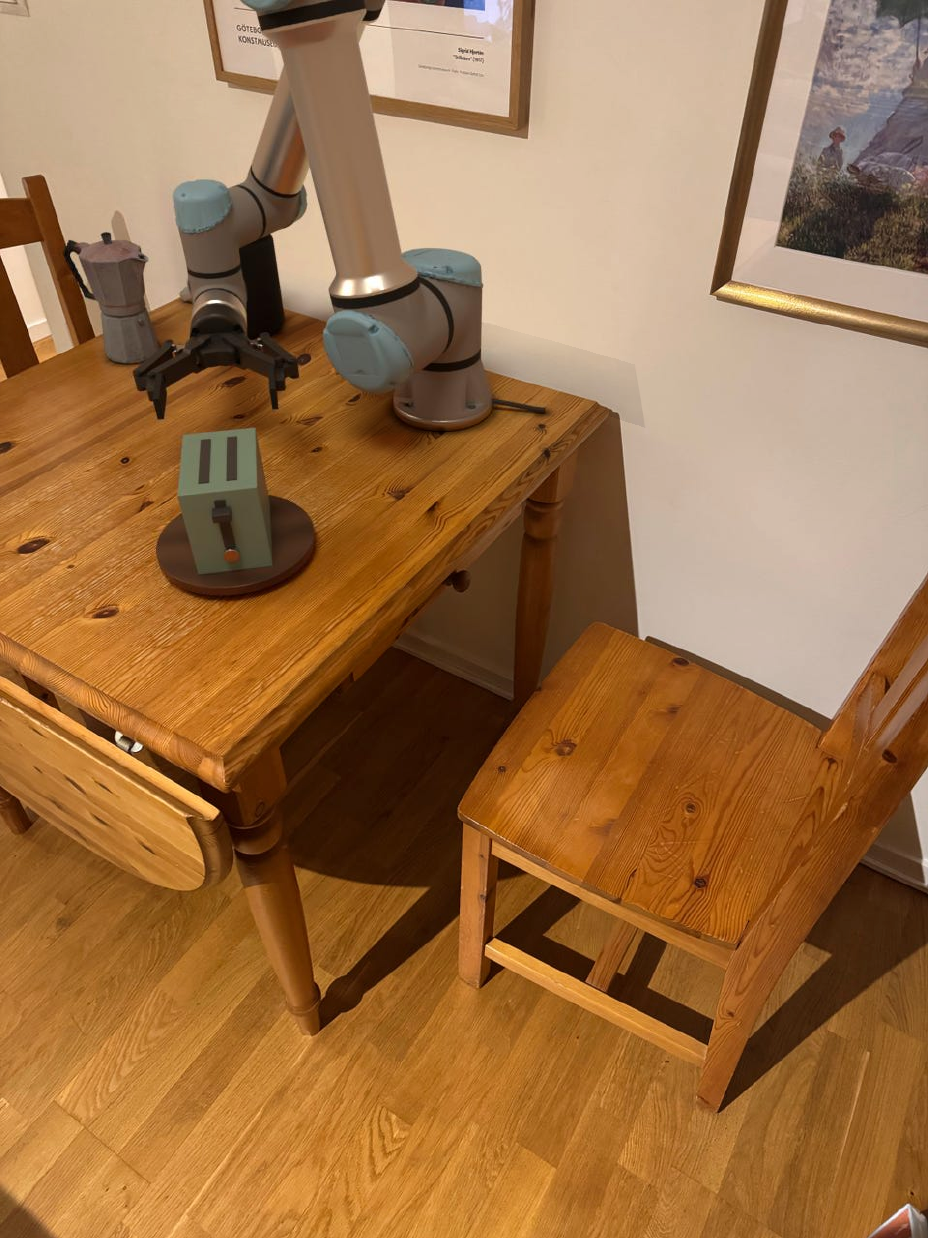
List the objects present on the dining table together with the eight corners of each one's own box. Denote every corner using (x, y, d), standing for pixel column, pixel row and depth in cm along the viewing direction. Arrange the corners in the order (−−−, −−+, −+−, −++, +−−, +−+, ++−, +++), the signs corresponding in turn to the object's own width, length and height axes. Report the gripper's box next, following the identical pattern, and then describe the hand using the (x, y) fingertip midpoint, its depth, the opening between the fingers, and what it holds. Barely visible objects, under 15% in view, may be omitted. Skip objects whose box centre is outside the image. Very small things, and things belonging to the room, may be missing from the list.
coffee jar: (224, 319, 157) (204, 216, 145) (283, 313, 159) (268, 210, 147) (227, 344, 150) (205, 237, 138) (288, 338, 152) (273, 231, 139)
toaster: (163, 509, 111) (138, 424, 103) (310, 493, 114) (298, 409, 106) (152, 605, 98) (123, 516, 89) (320, 584, 100) (307, 496, 92)
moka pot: (160, 369, 143) (127, 245, 129) (75, 361, 145) (35, 238, 132) (185, 344, 150) (156, 224, 136) (103, 337, 152) (68, 218, 138)
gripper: (313, 347, 123) (323, 422, 108) (132, 361, 120) (117, 441, 104) (307, 295, 118) (317, 366, 103) (118, 308, 114) (99, 384, 99)
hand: (216, 404), depth 104 cm, fingers open, 13 cm apart
